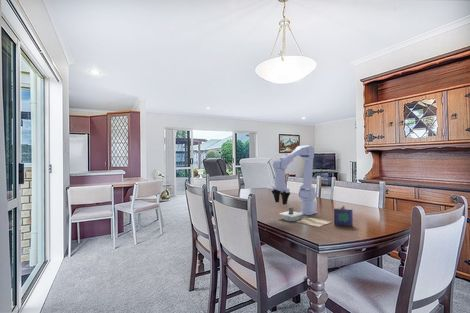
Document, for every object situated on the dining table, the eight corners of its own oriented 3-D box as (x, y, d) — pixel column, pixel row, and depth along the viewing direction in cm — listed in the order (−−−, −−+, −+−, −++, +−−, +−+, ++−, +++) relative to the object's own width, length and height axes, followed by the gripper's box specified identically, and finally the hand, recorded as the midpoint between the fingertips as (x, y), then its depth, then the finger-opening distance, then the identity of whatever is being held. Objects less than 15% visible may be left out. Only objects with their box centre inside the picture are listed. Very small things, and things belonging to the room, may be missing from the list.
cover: (289, 211, 156) (289, 205, 156) (303, 214, 148) (303, 207, 148) (279, 214, 149) (278, 207, 149) (292, 217, 142) (292, 210, 142)
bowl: (290, 216, 155) (289, 212, 155) (302, 219, 148) (302, 214, 148) (280, 219, 149) (280, 214, 149) (292, 222, 142) (292, 217, 142)
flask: (352, 225, 134) (352, 205, 134) (353, 226, 131) (353, 206, 131) (333, 224, 136) (333, 204, 136) (334, 225, 134) (334, 205, 133)
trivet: (310, 217, 151) (310, 217, 151) (332, 222, 140) (332, 221, 140) (296, 222, 142) (296, 221, 142) (317, 227, 131) (317, 226, 131)
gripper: (267, 179, 151) (268, 201, 151) (281, 181, 138) (282, 206, 138) (277, 178, 154) (278, 200, 154) (292, 180, 141) (292, 205, 141)
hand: (280, 203), depth 146 cm, fingers open, 7 cm apart
